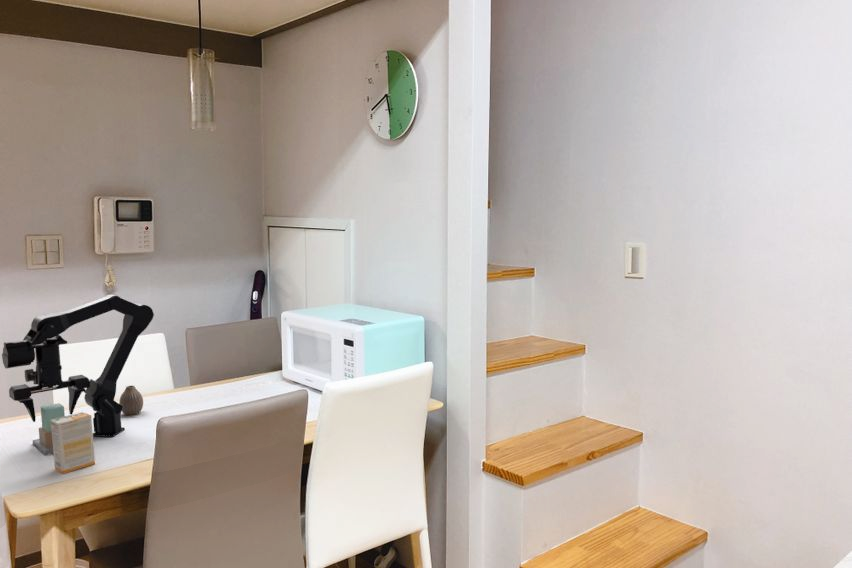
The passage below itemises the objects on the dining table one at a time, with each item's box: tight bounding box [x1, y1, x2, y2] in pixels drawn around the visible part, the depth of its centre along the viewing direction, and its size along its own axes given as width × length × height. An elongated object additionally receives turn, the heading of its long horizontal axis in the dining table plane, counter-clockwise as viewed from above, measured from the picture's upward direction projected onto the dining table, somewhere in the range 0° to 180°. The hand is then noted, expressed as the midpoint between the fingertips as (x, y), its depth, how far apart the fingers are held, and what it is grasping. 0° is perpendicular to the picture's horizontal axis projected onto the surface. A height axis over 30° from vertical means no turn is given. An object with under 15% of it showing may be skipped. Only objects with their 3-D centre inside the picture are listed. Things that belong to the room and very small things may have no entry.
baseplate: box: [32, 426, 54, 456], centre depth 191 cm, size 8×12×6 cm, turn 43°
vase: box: [118, 385, 144, 416], centre depth 219 cm, size 7×7×9 cm
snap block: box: [40, 402, 66, 432], centre depth 190 cm, size 5×5×6 cm
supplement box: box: [50, 411, 96, 474], centre depth 175 cm, size 8×5×13 cm, turn 141°
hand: (52, 417), depth 190 cm, fingers open, 9 cm apart
